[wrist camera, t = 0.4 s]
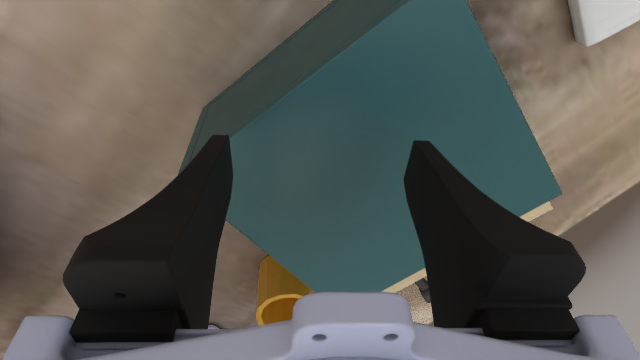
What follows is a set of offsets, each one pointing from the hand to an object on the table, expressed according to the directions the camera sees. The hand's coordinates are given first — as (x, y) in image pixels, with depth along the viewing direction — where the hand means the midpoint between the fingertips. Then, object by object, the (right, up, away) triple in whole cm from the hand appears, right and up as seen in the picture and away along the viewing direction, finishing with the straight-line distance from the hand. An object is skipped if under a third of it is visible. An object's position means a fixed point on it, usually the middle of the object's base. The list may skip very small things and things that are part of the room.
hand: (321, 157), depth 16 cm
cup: (-3, -8, +18) cm, 20 cm away
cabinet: (+2, +3, +11) cm, 11 cm away
